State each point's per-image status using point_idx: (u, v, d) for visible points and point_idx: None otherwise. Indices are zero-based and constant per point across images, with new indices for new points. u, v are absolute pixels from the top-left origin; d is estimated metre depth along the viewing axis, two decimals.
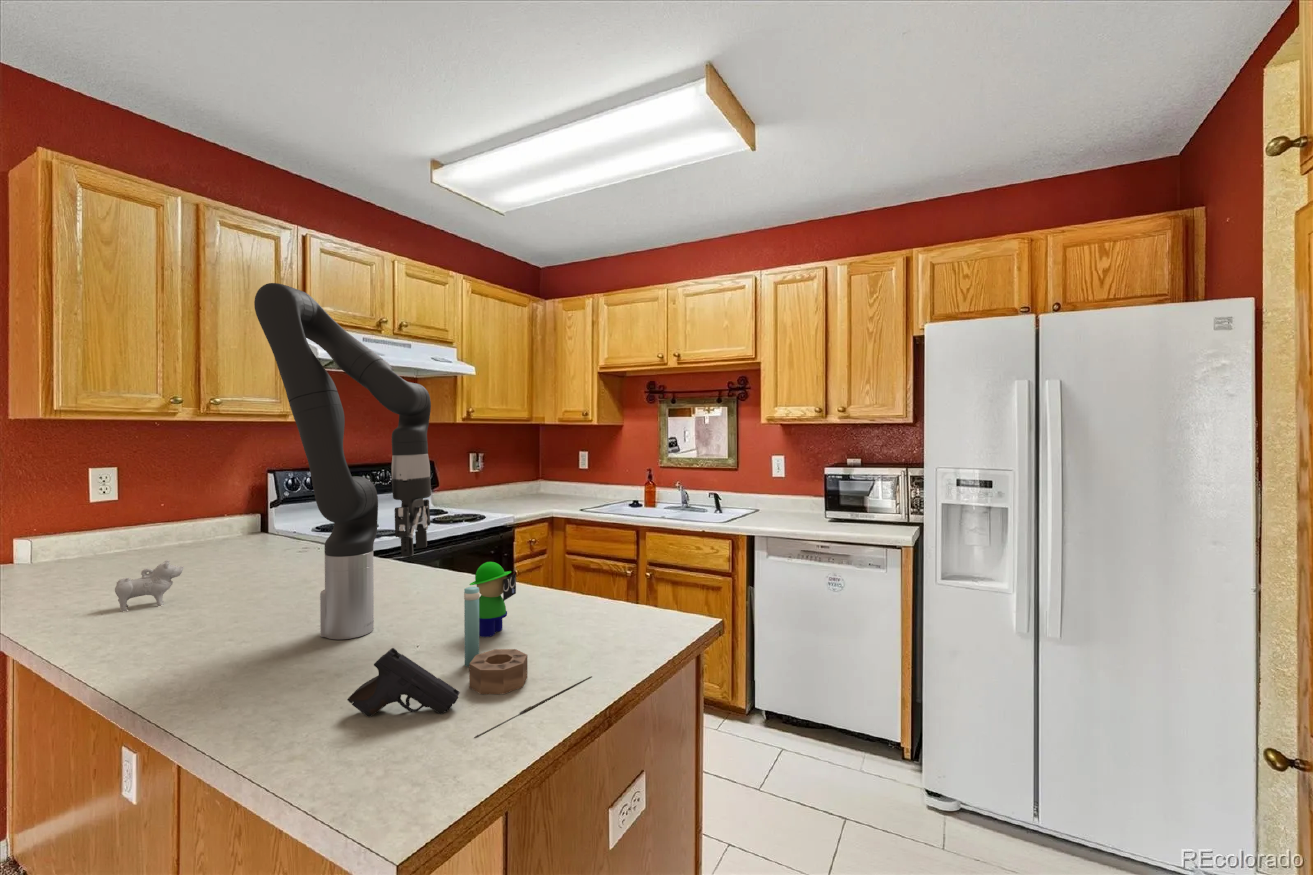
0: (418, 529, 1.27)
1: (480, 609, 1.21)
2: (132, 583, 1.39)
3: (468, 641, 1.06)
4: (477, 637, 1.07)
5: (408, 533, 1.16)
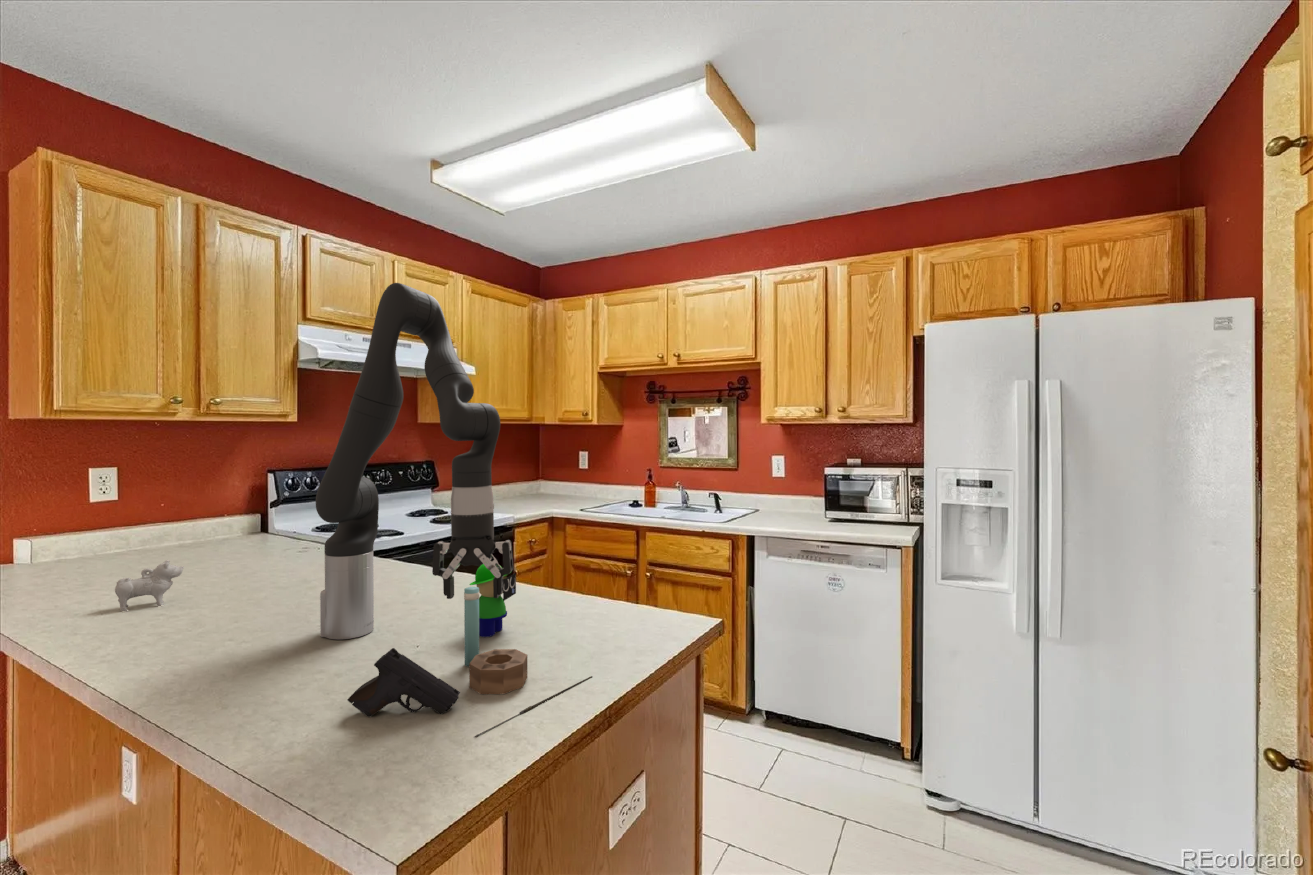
0: (450, 576, 1.07)
1: (480, 609, 1.21)
2: (132, 583, 1.39)
3: (468, 641, 1.06)
4: (477, 637, 1.07)
5: None
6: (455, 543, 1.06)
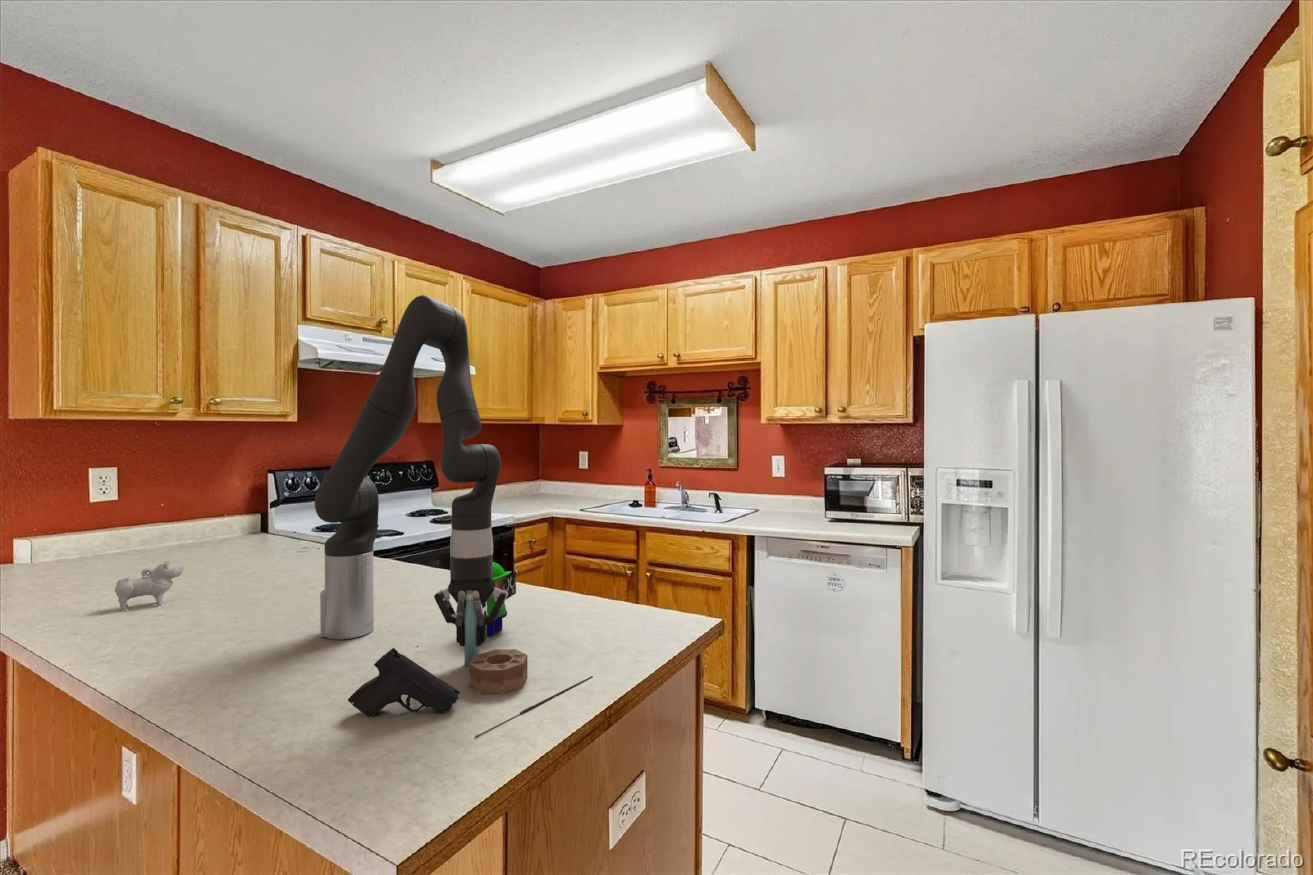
0: (463, 622, 1.07)
1: None
2: (132, 583, 1.39)
3: (468, 641, 1.06)
4: None
5: None
6: (452, 585, 1.06)
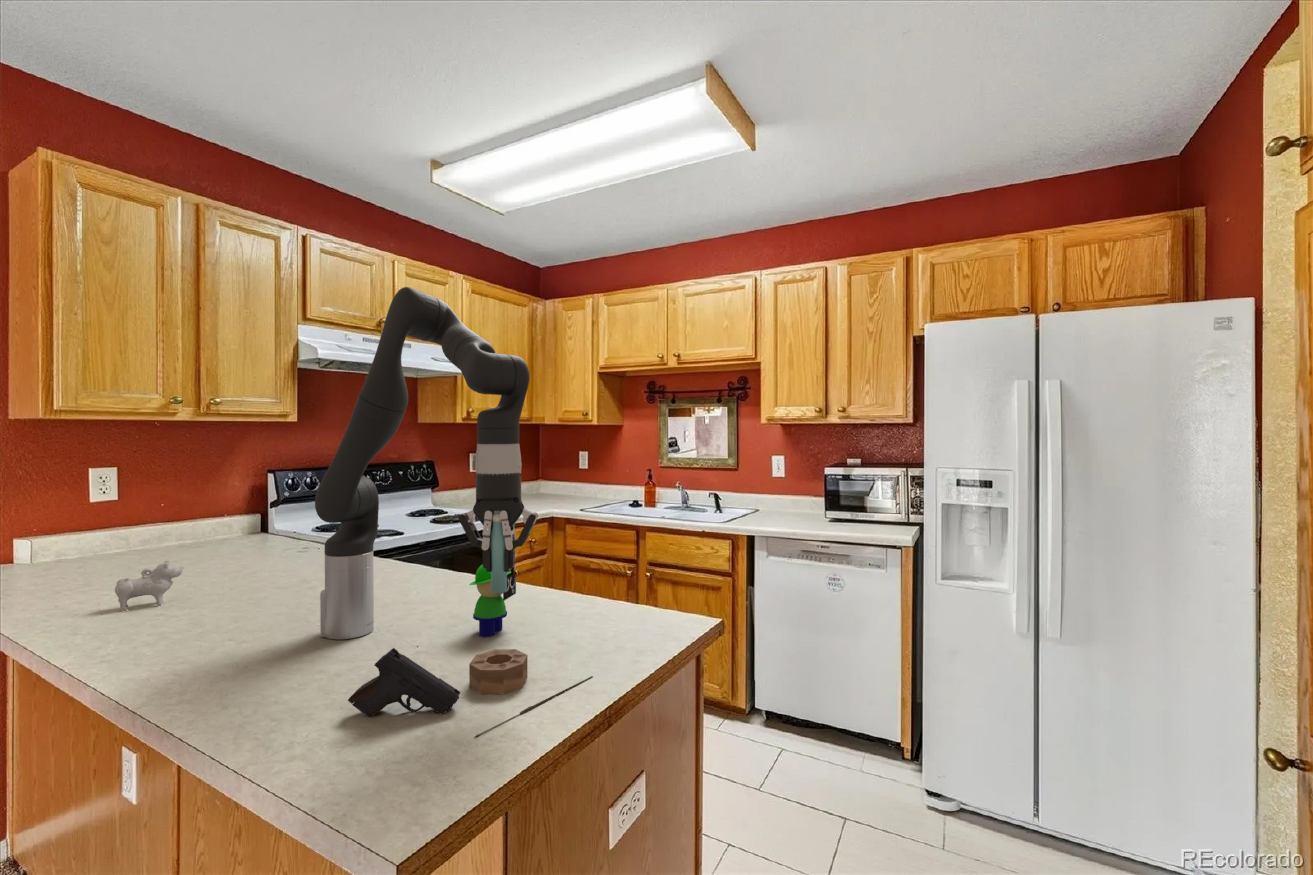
0: (490, 545, 0.99)
1: (480, 609, 1.21)
2: (132, 583, 1.39)
3: (496, 565, 0.98)
4: None
5: None
6: (478, 505, 0.98)
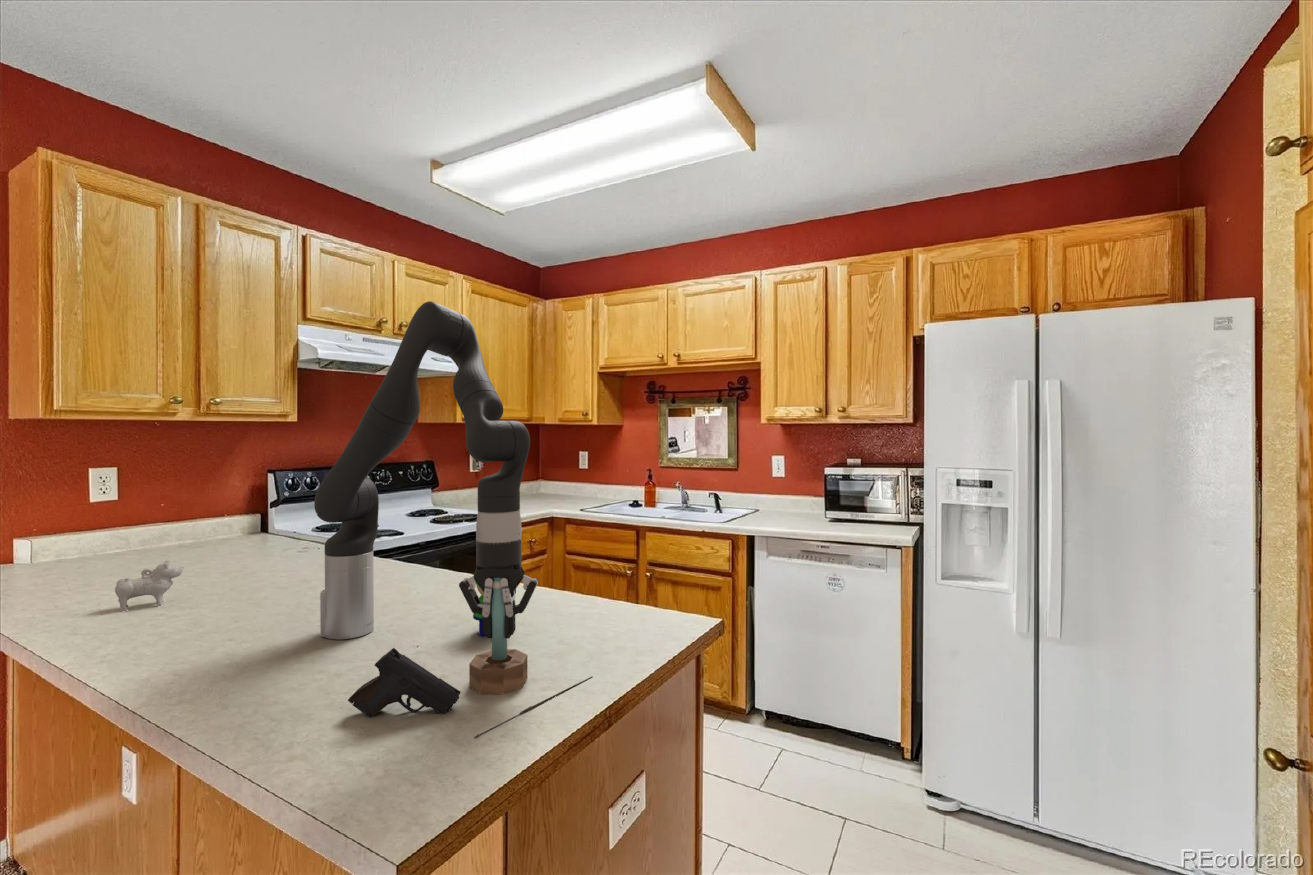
0: (490, 612, 0.99)
1: None
2: (132, 583, 1.39)
3: (496, 632, 0.98)
4: None
5: None
6: (478, 572, 0.98)
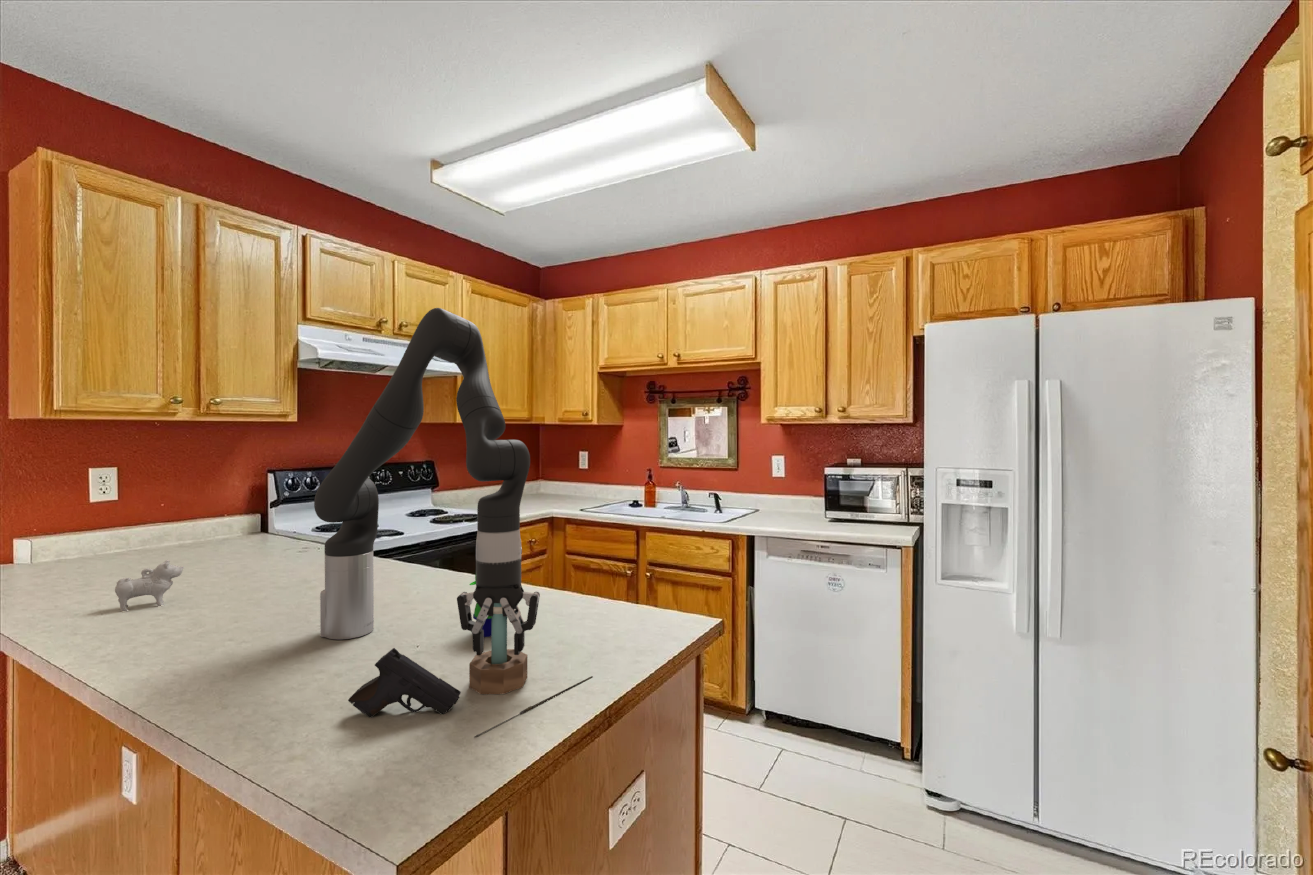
0: (480, 630, 0.99)
1: (480, 609, 1.21)
2: (132, 583, 1.39)
3: (496, 657, 0.98)
4: (505, 653, 0.99)
5: None
6: (479, 591, 0.98)
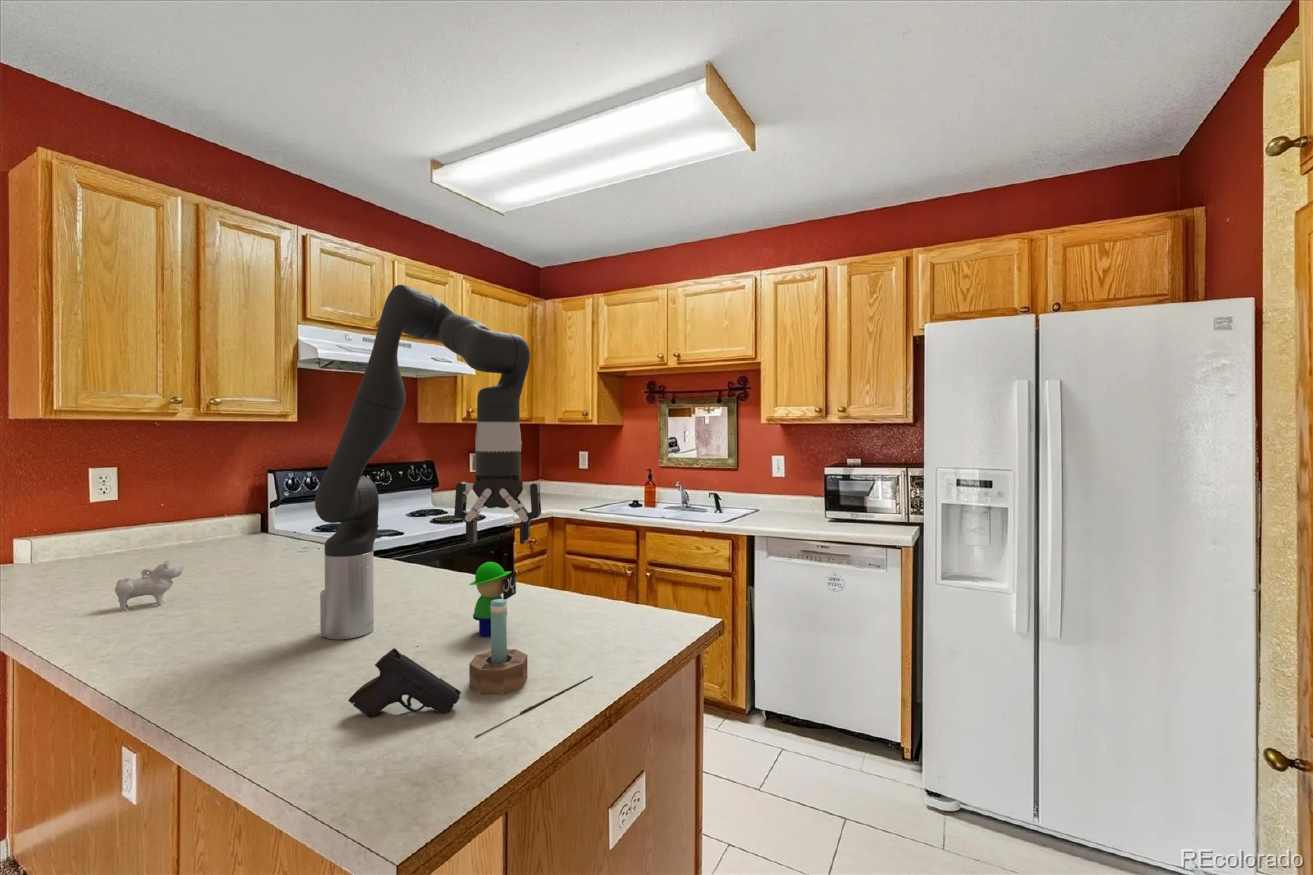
0: (473, 519, 0.99)
1: (480, 609, 1.21)
2: (132, 583, 1.39)
3: (496, 657, 0.98)
4: (505, 653, 0.99)
5: None
6: (479, 483, 0.98)
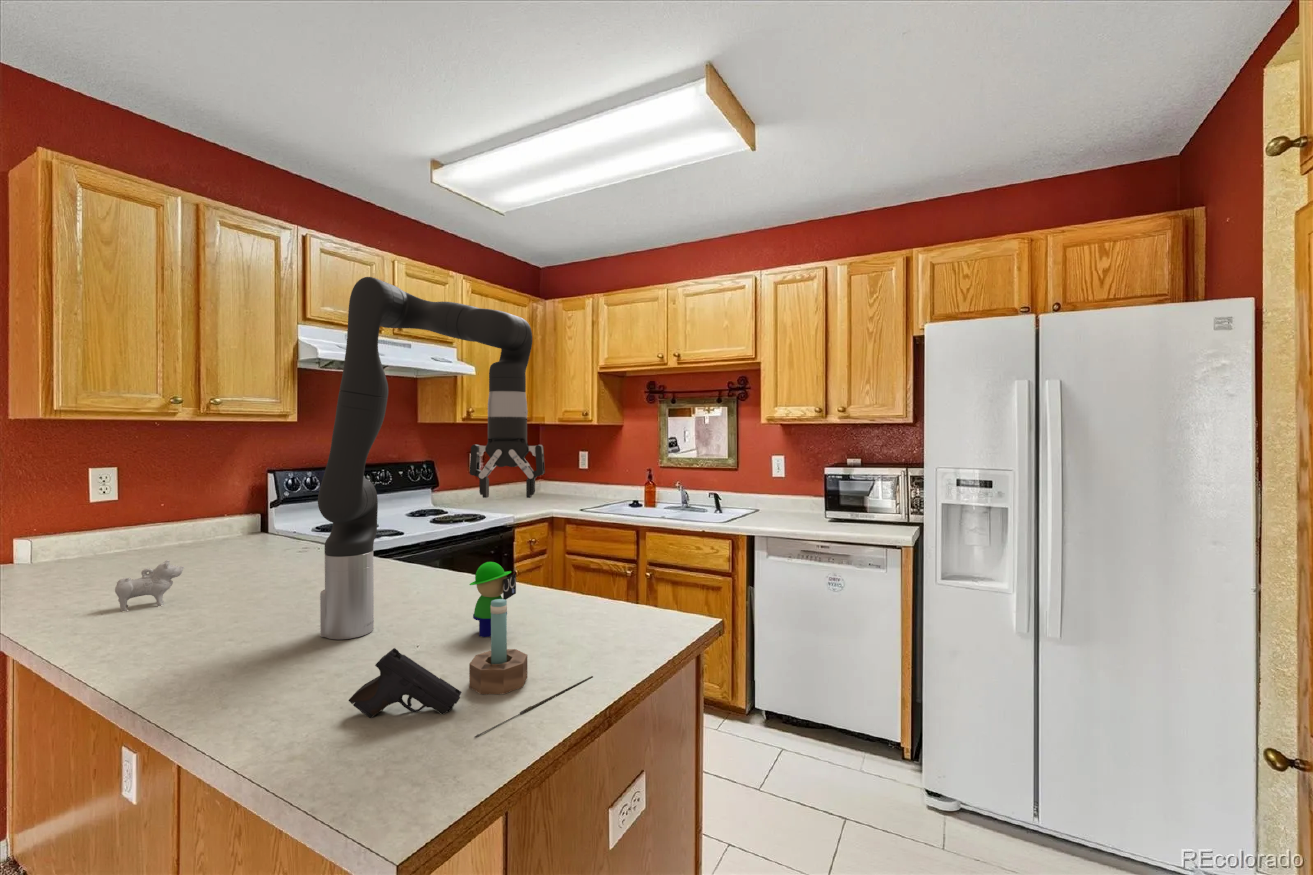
0: (486, 476, 1.13)
1: (480, 609, 1.21)
2: (132, 583, 1.39)
3: (496, 658, 0.98)
4: (505, 653, 0.99)
5: None
6: (491, 445, 1.13)
